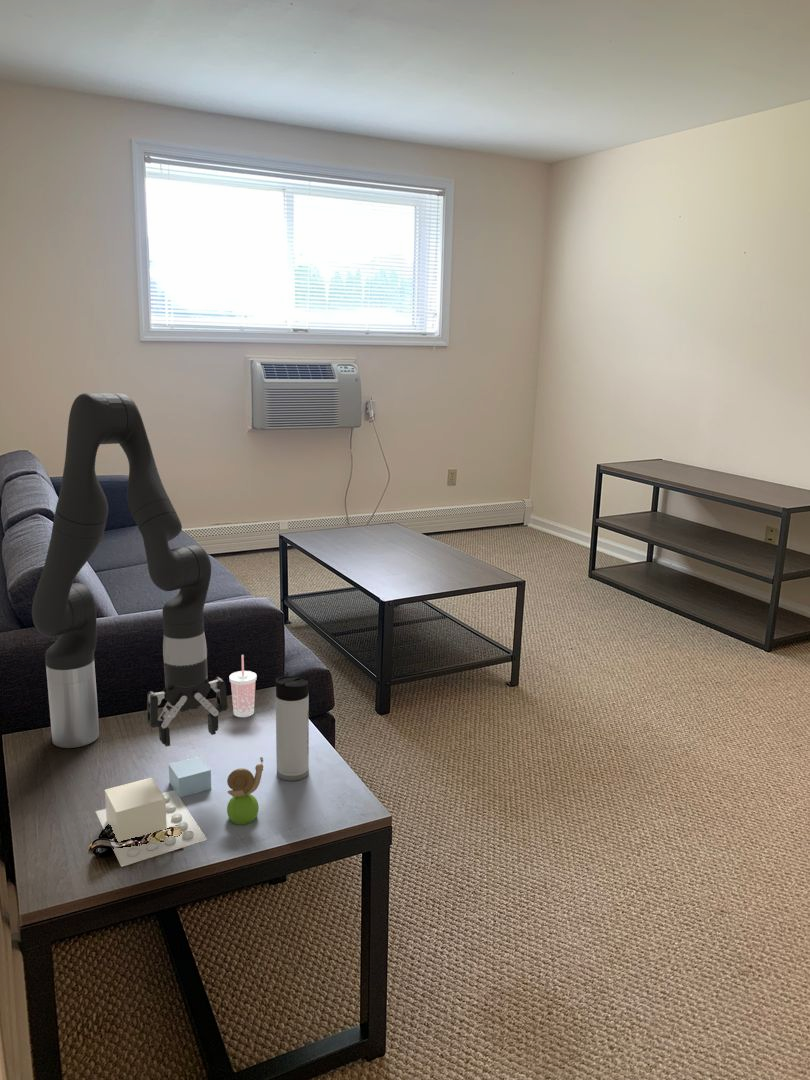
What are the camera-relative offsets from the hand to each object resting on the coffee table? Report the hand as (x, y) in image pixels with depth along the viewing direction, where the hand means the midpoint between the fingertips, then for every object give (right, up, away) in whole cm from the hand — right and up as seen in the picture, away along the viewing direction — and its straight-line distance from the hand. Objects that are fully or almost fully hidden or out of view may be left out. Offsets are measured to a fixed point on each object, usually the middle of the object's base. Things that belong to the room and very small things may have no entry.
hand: (189, 738), depth 147 cm
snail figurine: (+12, -13, -7) cm, 19 cm away
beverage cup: (+3, -3, +35) cm, 35 cm away
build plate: (-4, -13, -10) cm, 17 cm away
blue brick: (0, -10, +2) cm, 11 cm away
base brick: (-6, -12, -11) cm, 17 cm away
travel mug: (+18, -9, +9) cm, 22 cm away
